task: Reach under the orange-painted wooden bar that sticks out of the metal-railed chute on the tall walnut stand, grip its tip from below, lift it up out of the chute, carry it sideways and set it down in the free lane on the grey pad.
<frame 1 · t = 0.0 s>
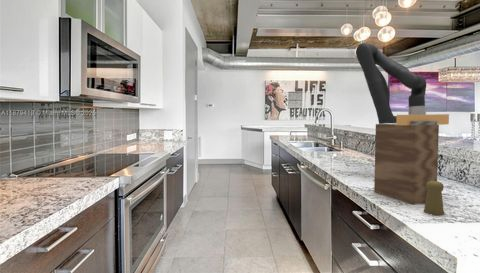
hand: (418, 148, 153), 17 cm above the worktop, tool pointing down, fingers open, 8 cm apart
walnut stand: (403, 196, 129), on the worktop
cork: (433, 213, 108), on the worktop
wooden bar: (422, 124, 123), point 30 cm above the worktop, touching walnut stand
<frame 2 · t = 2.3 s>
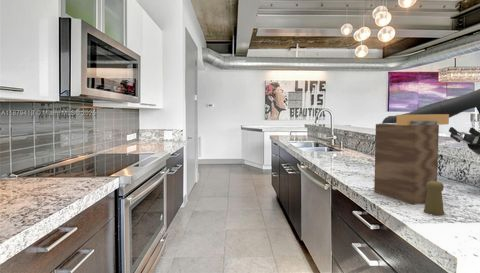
hand: (460, 129, 129), 28 cm above the worktop, tool pointing upward, fingers open, 8 cm apart
nothing on the worktop moved.
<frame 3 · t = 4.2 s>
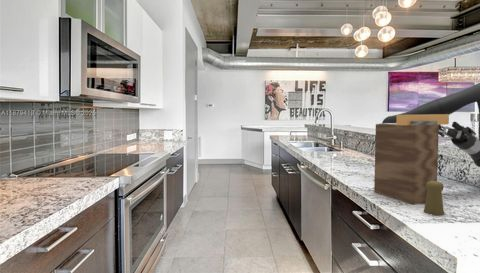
hand: (443, 123, 126), 30 cm above the worktop, tool pointing upward, fingers open, 8 cm apart
nothing on the worktop moved.
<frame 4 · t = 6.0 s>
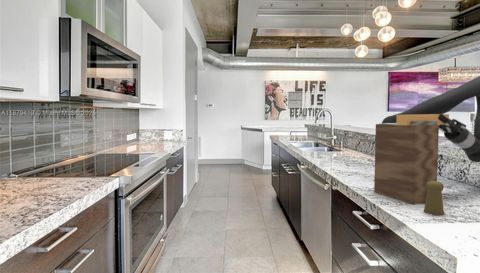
hand: (433, 116, 124), 33 cm above the worktop, tool pointing upward, fingers closed on wooden bar, 4 cm apart
wooden bar: (422, 124, 123), point 30 cm above the worktop, touching gripper, walnut stand
everything else where it was.
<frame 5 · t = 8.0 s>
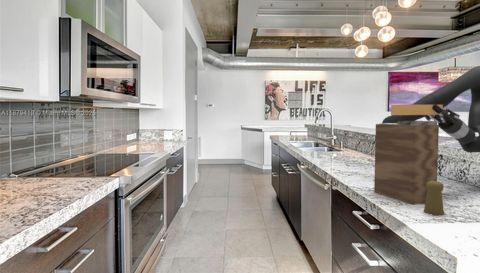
hand: (428, 106, 126), 37 cm above the worktop, tool pointing upward, fingers closed on wooden bar, 4 cm apart
wooden bar: (416, 114, 125), point 34 cm above the worktop, touching gripper
everything else where it was.
when the fingers open (34 cm above the worktop, at t = 10.4 s): wooden bar stays where it is, resting on walnut stand.
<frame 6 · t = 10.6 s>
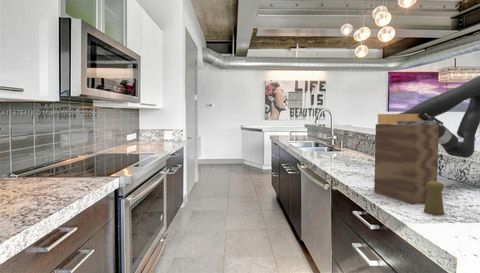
hand: (413, 114, 134), 34 cm above the worktop, tool pointing upward, fingers open, 6 cm apart
wooden bar: (402, 123, 132), point 30 cm above the worktop, touching walnut stand
everything else where it was.
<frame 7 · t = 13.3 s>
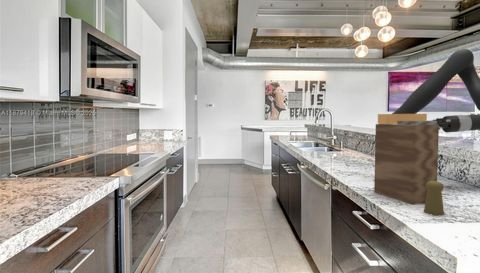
hand: (418, 126, 141), 29 cm above the worktop, tool horizontal, fingers open, 8 cm apart
nothing on the worktop moved.
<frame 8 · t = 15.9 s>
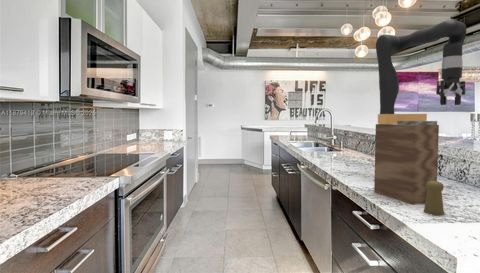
hand: (450, 104, 137), 38 cm above the worktop, tool pointing down, fingers open, 8 cm apart
nothing on the worktop moved.
at the end: wooden bar inside the target area on the walnut stand (0.1 cm from its centre), point 30.3 cm above the walnut stand's base; wooden bar tilted 0°; the gripper is holding nothing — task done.
